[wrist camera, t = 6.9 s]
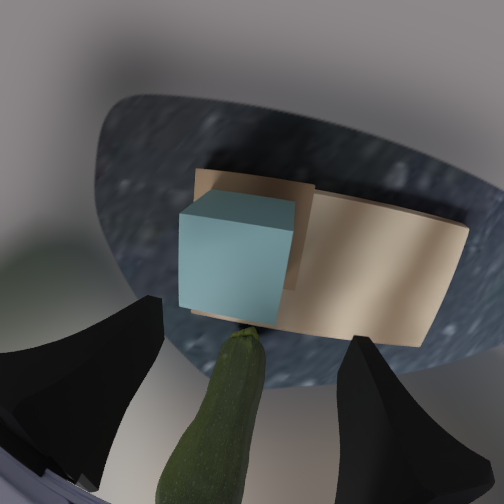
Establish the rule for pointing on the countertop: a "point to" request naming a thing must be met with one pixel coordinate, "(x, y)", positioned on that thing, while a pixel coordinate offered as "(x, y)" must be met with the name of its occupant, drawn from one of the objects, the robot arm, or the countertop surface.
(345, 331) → the maple board
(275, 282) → the teal block
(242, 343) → the vegetable
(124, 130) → the countertop surface
